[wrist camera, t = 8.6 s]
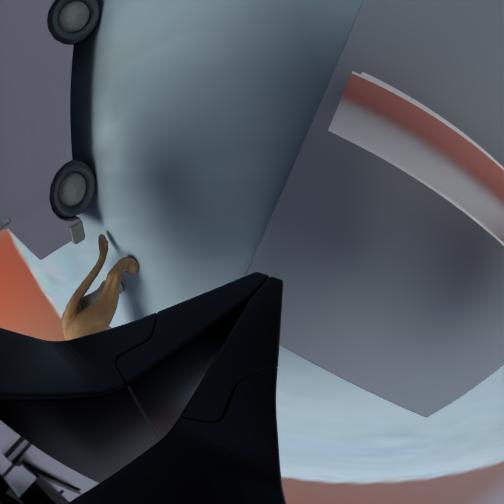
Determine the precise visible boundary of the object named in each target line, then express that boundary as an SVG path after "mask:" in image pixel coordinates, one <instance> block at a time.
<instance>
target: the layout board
mask: <svg viewBox="0 0 504 504" xmlns="http://www.w3.org/2000/svg"><path fill="white" fill-rule="evenodd" d="M352 71H354V72H356V73H359V74H361V75H363V76H365V77H367V78H370V79H372V80H374V81H376V82H378V83H380V84H382V85H384V86H386V87H388V88H390V89H392V90H394V91H396V92H398V93H399V94H401V95H403V96H405V97H407V98H408V99H410V100H412V101H414V102H415V103H417V104H419V105H420V106H422V107H424V108H425V109H427V110H429V111H430V112H432V113H433V114H435V115H437V116H438V117H440V118H441V119H443V120H444V121H446V122H447V123H448V124H450V125H451V126H453V127H454V128H456V129H457V130H458V131H460V132H461V133H463V134H464V135H465V136H467V137H468V138H469V139H470V140H472V141H473V142H474V143H476V144H477V145H478V146H479V147H481V148H482V149H483V150H484V151H485V152H487V153H488V154H489V155H490V156H491V157H493V158H494V159H495V160H496V161H497V162H498V163H499V164H501V165H502V166H503V167H504V0H363V3H362V5H361V8H360V10H359V12H358V15H357V17H356V19H355V22H354V24H353V27H352V29H351V31H350V34H349V36H348V38H347V41H346V43H345V46H344V48H343V50H342V53H341V55H340V57H339V60H338V62H337V64H336V67H335V69H334V71H333V74H332V76H331V78H330V81H329V83H328V86H327V88H326V90H325V93H324V95H323V97H322V100H321V102H320V104H319V107H318V109H317V111H316V114H315V116H314V118H313V121H312V123H311V125H310V128H309V130H308V132H307V135H306V137H305V139H304V142H303V144H302V146H301V149H300V151H299V153H298V156H297V158H296V160H295V163H294V165H293V167H292V170H291V172H290V174H289V177H288V179H287V181H286V184H285V186H284V188H283V190H282V193H281V195H280V197H279V200H278V202H277V204H276V207H275V209H274V211H273V214H272V216H271V218H270V221H269V223H268V225H267V227H266V230H265V232H264V234H263V237H262V239H261V241H260V244H259V246H258V248H257V251H256V253H255V255H254V257H253V260H252V262H251V264H250V267H249V269H248V271H247V274H246V276H247V275H249V274H252V273H254V272H260V273H263V274H266V275H268V276H269V277H275V278H278V279H281V280H283V299H282V315H281V329H280V343H279V345H281V346H283V347H284V348H286V349H288V350H290V351H291V352H293V353H295V354H297V355H299V356H300V357H302V358H304V359H306V360H308V361H310V362H312V363H313V364H315V365H317V366H319V367H321V368H323V369H325V370H327V371H328V372H330V373H332V374H334V375H336V376H338V377H340V378H342V379H344V380H346V381H348V382H350V383H352V384H354V385H356V386H358V387H360V388H362V389H364V390H366V391H368V392H370V393H373V394H375V395H377V396H379V397H381V398H383V399H385V400H387V401H390V402H392V403H394V404H396V405H398V406H401V407H403V408H405V409H407V410H410V411H412V412H414V413H417V414H419V415H421V416H424V417H428V416H430V415H432V414H433V413H435V412H437V411H439V410H440V409H442V408H444V407H445V406H447V405H448V404H450V403H452V402H453V401H455V400H456V399H458V398H459V397H461V396H462V395H464V394H465V393H467V392H468V391H470V390H471V389H473V388H474V387H475V386H477V385H478V384H479V383H481V382H482V381H483V380H485V379H486V378H487V377H489V376H490V375H491V374H493V373H494V372H495V371H496V370H498V369H499V368H500V367H501V366H502V365H504V246H503V245H502V244H501V243H500V242H499V241H498V240H497V239H496V238H495V237H493V236H492V235H491V234H490V233H489V232H488V231H486V230H485V229H484V228H483V227H482V226H480V225H479V224H478V223H477V222H475V221H474V220H473V219H472V218H470V217H469V216H468V215H467V214H465V213H464V212H463V211H461V210H460V209H459V208H457V207H456V206H455V205H453V204H452V203H451V202H449V201H448V200H446V199H445V198H444V197H442V196H441V195H439V194H438V193H437V192H435V191H434V190H432V189H431V188H429V187H428V186H426V185H425V184H423V183H422V182H420V181H419V180H417V179H415V178H414V177H412V176H411V175H409V174H407V173H406V172H404V171H403V170H401V169H399V168H398V167H396V166H394V165H393V164H391V163H389V162H387V161H386V160H384V159H382V158H380V157H379V156H377V155H375V154H373V153H371V152H369V151H368V150H366V149H364V148H362V147H360V146H358V145H356V144H354V143H352V142H350V141H348V140H346V139H344V138H342V137H340V136H338V135H336V134H334V133H332V132H330V131H328V129H329V127H330V124H331V122H332V120H333V117H334V115H335V112H336V110H337V108H338V105H339V103H340V100H341V98H342V95H343V93H344V91H345V88H346V86H347V83H348V81H349V78H350V76H351V73H352Z"/></svg>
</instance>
